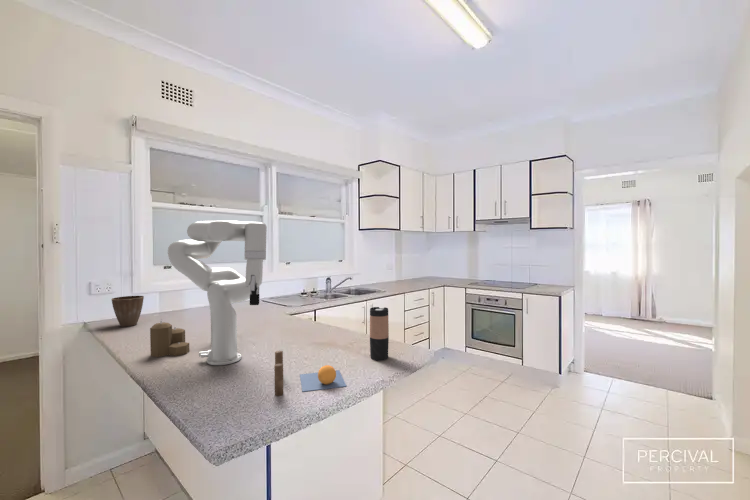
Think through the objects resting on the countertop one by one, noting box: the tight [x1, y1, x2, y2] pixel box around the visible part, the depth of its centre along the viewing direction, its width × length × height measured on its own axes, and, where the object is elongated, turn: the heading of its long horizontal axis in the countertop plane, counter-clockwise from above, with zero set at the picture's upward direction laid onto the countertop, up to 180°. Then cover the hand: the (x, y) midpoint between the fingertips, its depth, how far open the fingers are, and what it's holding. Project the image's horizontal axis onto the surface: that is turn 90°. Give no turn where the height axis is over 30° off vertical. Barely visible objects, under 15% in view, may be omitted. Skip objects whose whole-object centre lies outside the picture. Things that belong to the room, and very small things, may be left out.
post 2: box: [273, 363, 284, 397], centre depth 103 cm, size 3×3×9 cm
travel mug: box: [369, 306, 390, 362], centre depth 135 cm, size 8×8×20 cm
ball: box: [317, 364, 336, 385], centre depth 110 cm, size 6×6×6 cm
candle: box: [149, 318, 190, 358], centre depth 143 cm, size 14×14×15 cm
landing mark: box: [299, 369, 347, 393], centre depth 113 cm, size 14×14×1 cm
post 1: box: [274, 350, 284, 365], centre depth 116 cm, size 3×3×9 cm
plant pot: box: [111, 295, 145, 328], centre depth 191 cm, size 15×15×16 cm
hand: (254, 304), depth 124 cm, fingers closed
